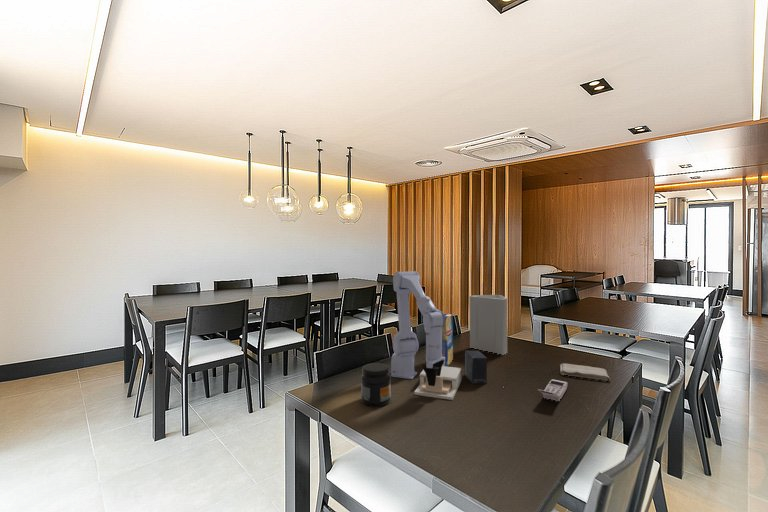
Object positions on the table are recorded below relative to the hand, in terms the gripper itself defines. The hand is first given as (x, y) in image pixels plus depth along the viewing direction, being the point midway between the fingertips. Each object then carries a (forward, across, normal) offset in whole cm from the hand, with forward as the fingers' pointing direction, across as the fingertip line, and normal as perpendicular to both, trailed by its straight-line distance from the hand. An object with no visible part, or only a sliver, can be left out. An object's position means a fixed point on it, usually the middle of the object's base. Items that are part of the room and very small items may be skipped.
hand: (434, 381), depth 130 cm
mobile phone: (+6, +15, -41) cm, 44 cm away
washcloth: (+6, +43, -54) cm, 69 cm away
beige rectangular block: (+3, +8, 0) cm, 9 cm away
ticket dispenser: (+5, +8, 0) cm, 9 cm away
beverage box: (+5, +38, +5) cm, 39 cm away
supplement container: (+5, -12, +18) cm, 22 cm away
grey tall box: (+5, +70, -15) cm, 72 cm away
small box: (+5, +22, -12) cm, 25 cm away
